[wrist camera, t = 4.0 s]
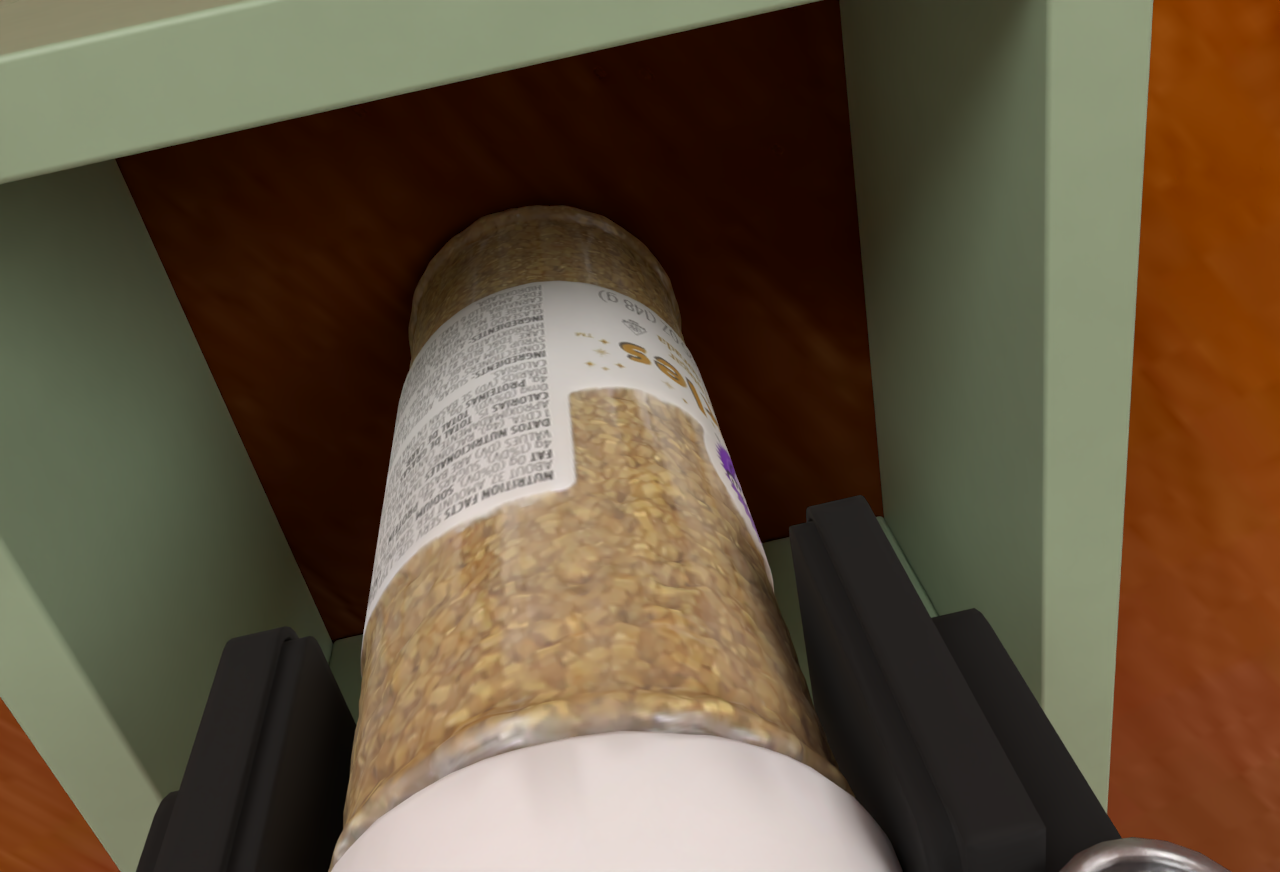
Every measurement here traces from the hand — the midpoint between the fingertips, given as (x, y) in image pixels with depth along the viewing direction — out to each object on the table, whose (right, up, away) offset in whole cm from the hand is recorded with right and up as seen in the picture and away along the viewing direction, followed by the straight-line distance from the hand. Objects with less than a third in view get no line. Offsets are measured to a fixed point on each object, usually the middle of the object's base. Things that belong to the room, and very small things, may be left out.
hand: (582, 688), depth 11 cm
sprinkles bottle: (-1, +4, +8) cm, 9 cm away
